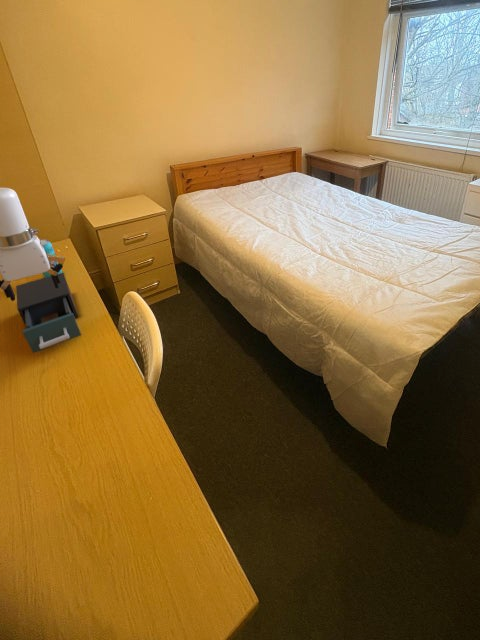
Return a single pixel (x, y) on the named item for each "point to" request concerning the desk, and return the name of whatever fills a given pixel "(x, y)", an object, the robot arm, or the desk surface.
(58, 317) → the block
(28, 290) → the cabinet
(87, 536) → the desk surface
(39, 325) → the drawer
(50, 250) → the beverage can
